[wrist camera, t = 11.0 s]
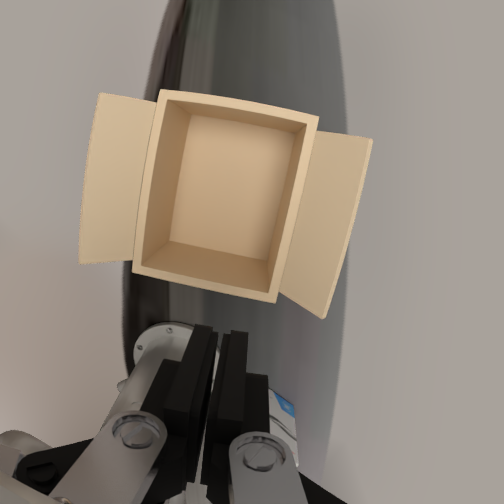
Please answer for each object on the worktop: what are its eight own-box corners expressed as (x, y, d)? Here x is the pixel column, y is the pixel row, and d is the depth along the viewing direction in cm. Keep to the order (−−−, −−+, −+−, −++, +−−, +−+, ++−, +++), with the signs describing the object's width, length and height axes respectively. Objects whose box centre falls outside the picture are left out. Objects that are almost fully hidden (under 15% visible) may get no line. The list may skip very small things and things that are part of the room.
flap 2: (316, 130, 23) (320, 132, 24) (278, 291, 27) (282, 290, 27) (369, 138, 20) (373, 140, 20) (321, 319, 23) (325, 317, 24)
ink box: (295, 405, 43) (303, 484, 29) (271, 421, 44) (272, 498, 30) (253, 375, 42) (249, 458, 27) (229, 393, 43) (218, 473, 28)
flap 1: (132, 259, 27) (130, 257, 27) (156, 102, 23) (153, 103, 23) (79, 264, 23) (78, 262, 23) (100, 92, 19) (98, 93, 20)
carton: (272, 266, 37) (275, 303, 27) (163, 243, 37) (132, 272, 27) (303, 129, 33) (319, 116, 23) (187, 107, 32) (160, 89, 23)
